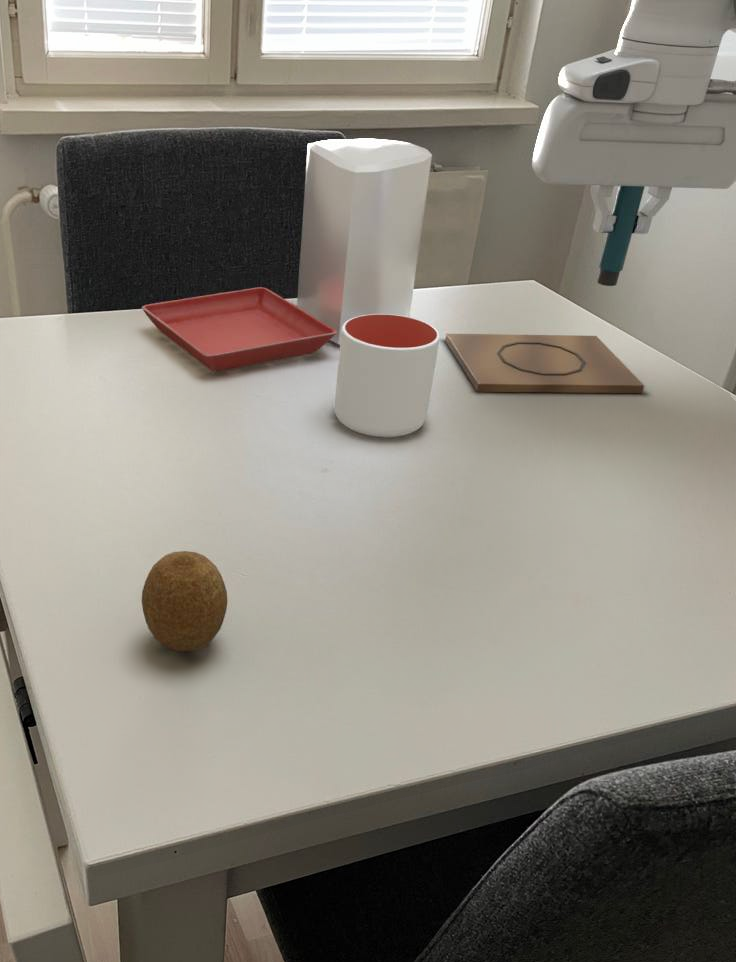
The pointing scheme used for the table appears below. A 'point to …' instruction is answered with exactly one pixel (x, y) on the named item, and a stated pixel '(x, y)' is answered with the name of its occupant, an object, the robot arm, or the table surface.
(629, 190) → the marker
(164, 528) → the table surface
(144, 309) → the plant saucer
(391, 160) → the silvery white canister
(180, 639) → the fruit
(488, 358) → the pad
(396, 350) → the cup
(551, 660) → the table surface
